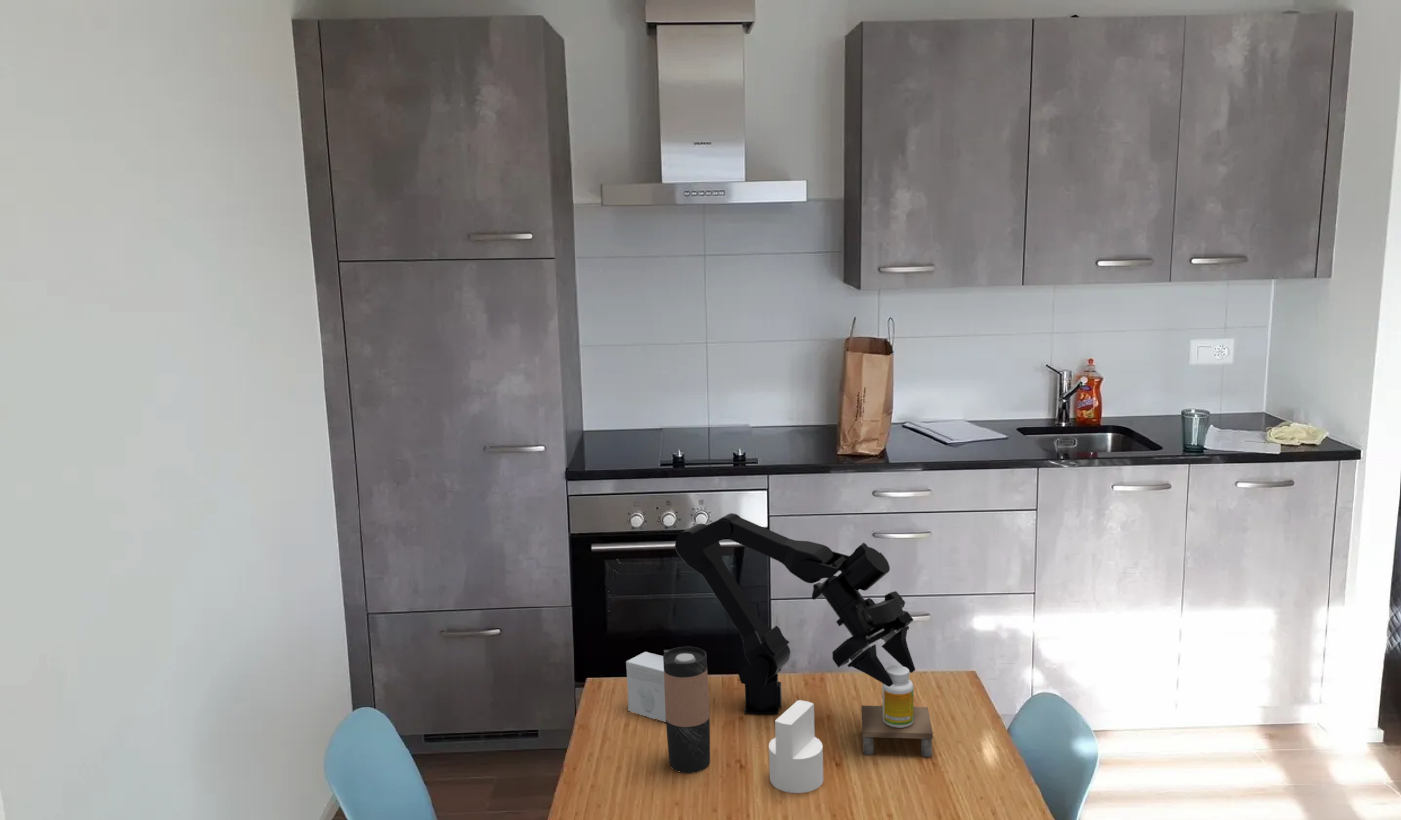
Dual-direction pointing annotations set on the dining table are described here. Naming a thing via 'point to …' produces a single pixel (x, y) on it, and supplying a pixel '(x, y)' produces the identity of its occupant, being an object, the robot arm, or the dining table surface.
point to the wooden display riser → (896, 729)
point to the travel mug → (687, 708)
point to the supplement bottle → (898, 698)
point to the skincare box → (646, 685)
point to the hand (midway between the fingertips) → (902, 678)
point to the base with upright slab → (796, 751)
